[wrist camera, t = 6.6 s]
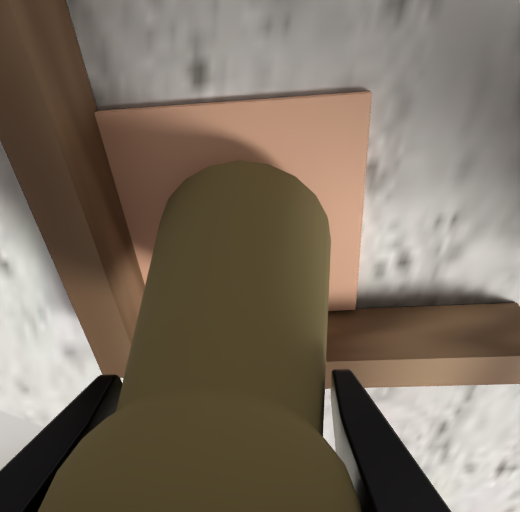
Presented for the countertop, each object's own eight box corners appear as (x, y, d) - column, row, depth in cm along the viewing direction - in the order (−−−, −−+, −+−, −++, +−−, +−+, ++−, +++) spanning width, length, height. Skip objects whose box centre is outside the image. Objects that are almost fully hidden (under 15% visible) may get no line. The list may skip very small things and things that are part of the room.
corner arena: (697, -199, 9) (857, -270, 7) (507, 329, 18) (543, 383, 16) (-30, -116, 10) (-126, -150, 8) (131, 341, 19) (111, 393, 17)
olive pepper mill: (143, 163, 13) (-210, 615, 4) (336, 157, 12) (500, 641, 3) (174, 308, 16) (36, 733, 7) (327, 307, 16) (394, 754, 6)
